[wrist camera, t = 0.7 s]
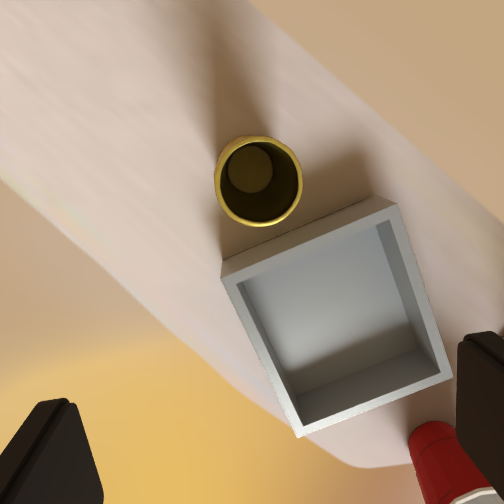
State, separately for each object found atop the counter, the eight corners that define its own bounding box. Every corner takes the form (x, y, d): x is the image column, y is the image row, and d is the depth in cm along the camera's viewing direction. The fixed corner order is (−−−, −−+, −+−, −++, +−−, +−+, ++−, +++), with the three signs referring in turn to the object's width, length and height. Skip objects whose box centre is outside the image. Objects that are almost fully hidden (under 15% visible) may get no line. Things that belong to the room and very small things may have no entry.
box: (373, 195, 37) (397, 203, 32) (425, 347, 42) (453, 377, 36) (222, 260, 38) (220, 278, 33) (289, 402, 43) (297, 438, 37)
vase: (265, 123, 35) (284, 107, 21) (293, 184, 36) (328, 207, 23) (205, 154, 35) (186, 158, 22) (235, 212, 37) (236, 252, 23)
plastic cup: (389, 401, 43) (445, 494, 32) (482, 400, 44) (571, 491, 32) (379, 479, 46) (428, 591, 35) (467, 477, 47) (544, 586, 35)
